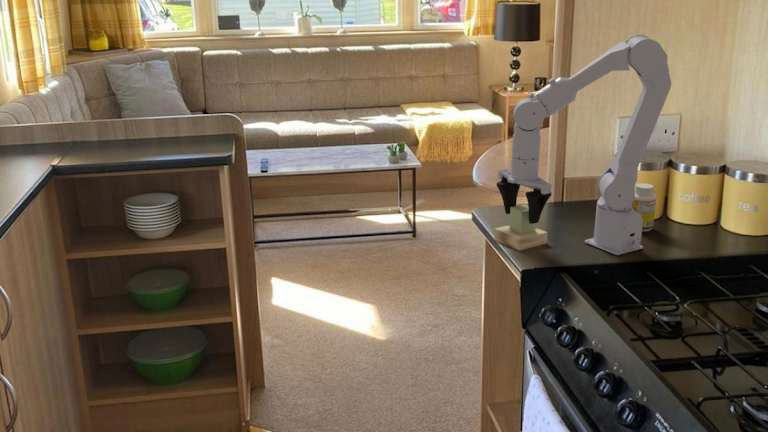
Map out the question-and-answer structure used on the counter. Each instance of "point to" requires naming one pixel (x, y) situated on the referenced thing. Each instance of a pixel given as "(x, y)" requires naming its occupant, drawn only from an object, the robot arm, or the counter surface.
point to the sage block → (521, 220)
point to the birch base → (520, 238)
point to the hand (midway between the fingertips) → (521, 217)
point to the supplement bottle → (645, 204)
